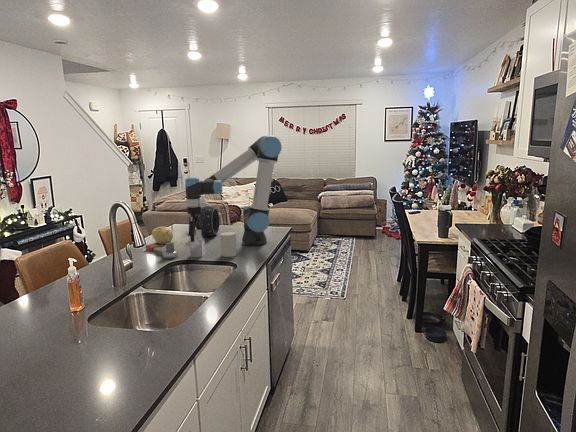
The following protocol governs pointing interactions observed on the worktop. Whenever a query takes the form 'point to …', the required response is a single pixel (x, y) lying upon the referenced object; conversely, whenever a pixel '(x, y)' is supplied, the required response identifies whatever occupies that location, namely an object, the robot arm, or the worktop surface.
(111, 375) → the worktop surface
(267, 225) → the robot arm
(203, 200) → the soap bottle
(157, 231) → the sculpture
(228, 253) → the cup
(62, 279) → the worktop surface
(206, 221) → the ring
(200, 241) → the frosted translucent cube
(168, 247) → the ratchet
